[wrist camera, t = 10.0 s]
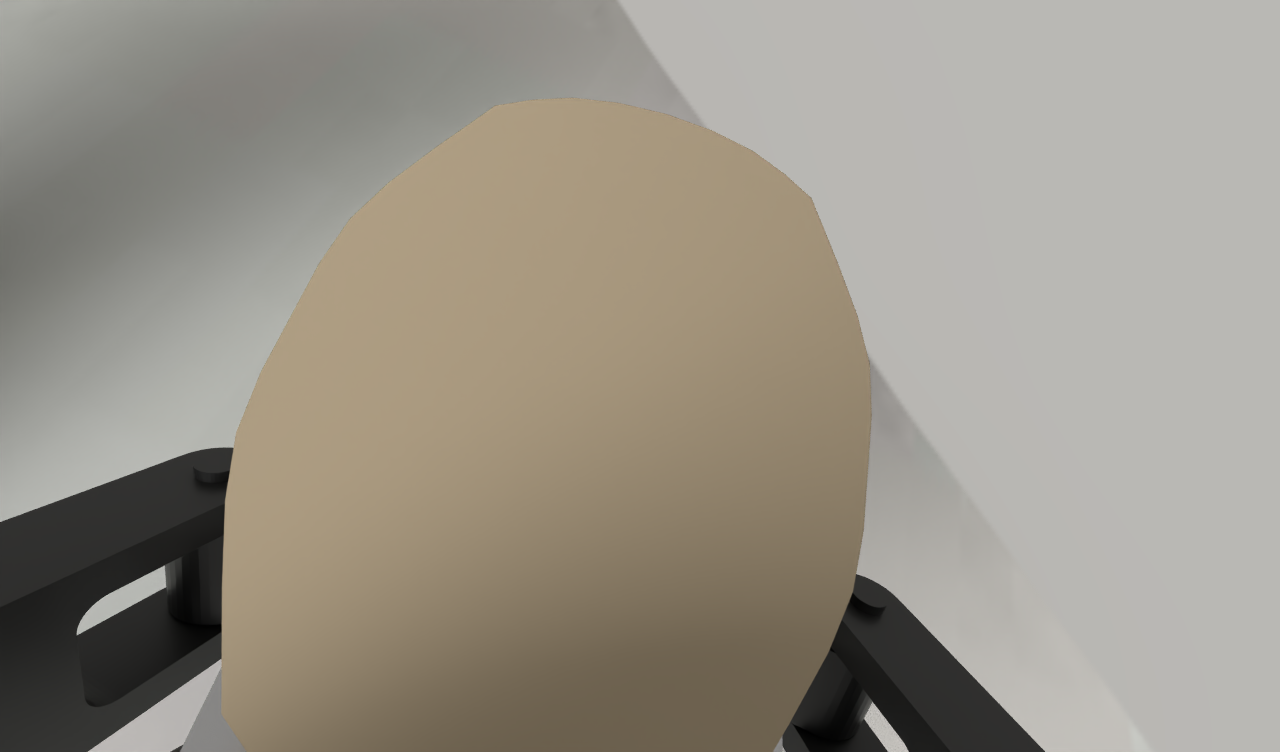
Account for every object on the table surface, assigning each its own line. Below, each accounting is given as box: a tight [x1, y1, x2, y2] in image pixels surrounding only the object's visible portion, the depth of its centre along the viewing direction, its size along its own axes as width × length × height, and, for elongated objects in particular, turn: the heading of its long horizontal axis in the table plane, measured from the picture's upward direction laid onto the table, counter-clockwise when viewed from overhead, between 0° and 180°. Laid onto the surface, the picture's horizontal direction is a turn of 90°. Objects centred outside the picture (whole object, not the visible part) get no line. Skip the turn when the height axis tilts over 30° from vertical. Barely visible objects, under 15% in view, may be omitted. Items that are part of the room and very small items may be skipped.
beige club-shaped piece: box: [221, 98, 872, 752], centre depth 12 cm, size 5×6×15 cm
